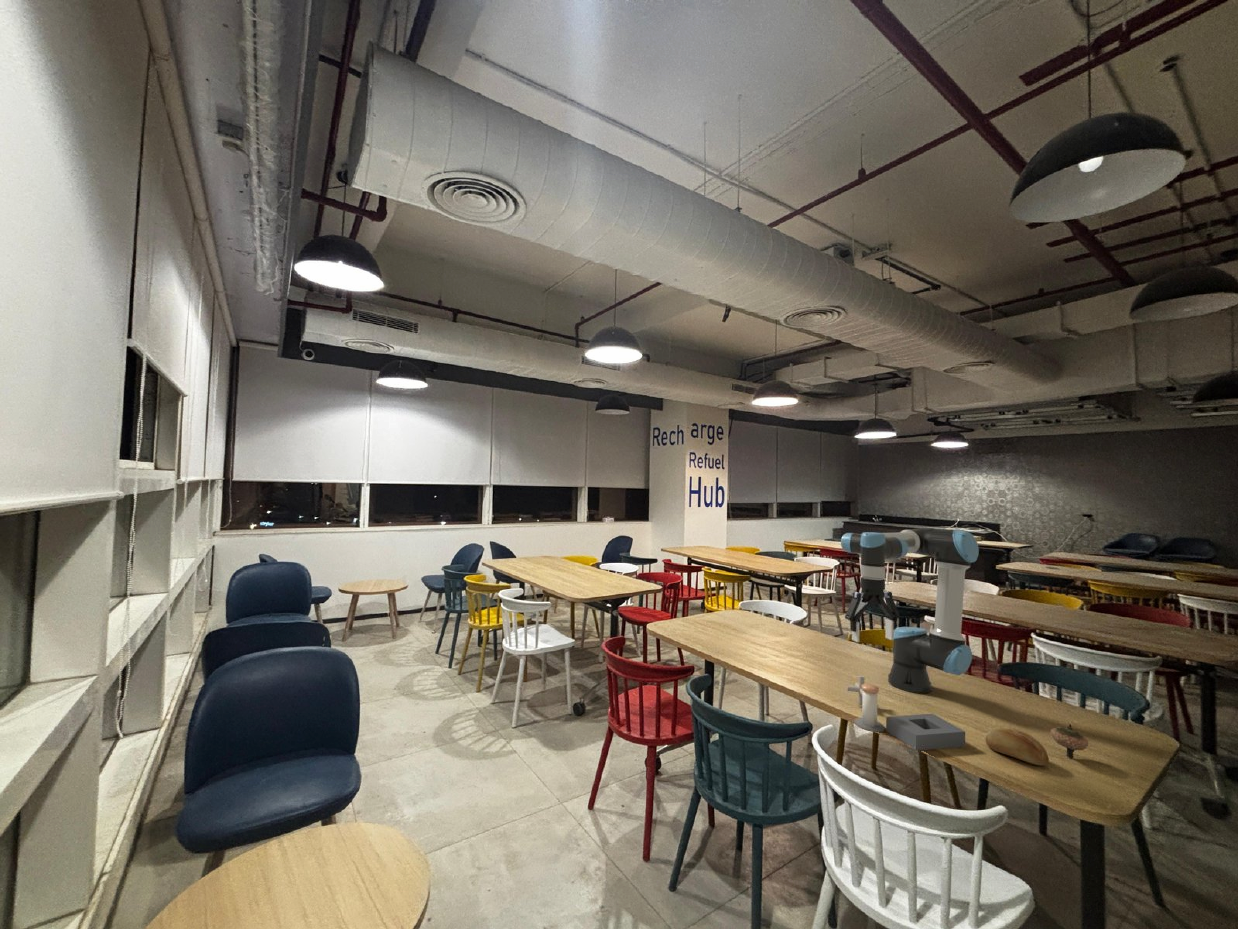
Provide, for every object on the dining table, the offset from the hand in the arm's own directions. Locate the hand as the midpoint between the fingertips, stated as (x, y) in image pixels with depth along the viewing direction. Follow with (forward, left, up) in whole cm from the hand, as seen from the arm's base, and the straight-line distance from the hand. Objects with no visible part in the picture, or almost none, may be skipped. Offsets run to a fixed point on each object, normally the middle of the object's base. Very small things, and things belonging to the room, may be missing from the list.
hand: (872, 640), depth 166 cm
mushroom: (+3, +3, -27) cm, 27 cm away
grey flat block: (-9, +13, -27) cm, 31 cm away
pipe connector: (-6, -12, -27) cm, 30 cm away
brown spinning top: (-45, +29, -27) cm, 60 cm away
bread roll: (-28, +26, -27) cm, 47 cm away
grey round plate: (+3, +3, -27) cm, 27 cm away
